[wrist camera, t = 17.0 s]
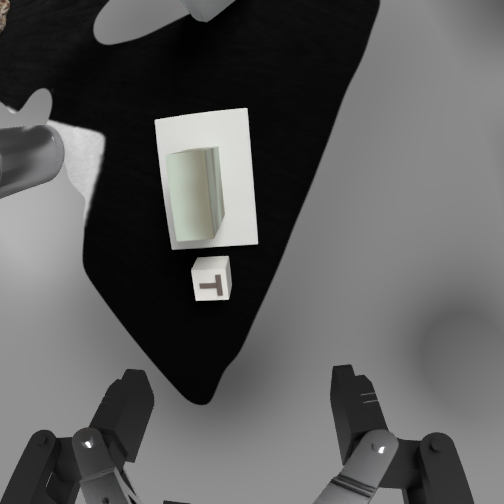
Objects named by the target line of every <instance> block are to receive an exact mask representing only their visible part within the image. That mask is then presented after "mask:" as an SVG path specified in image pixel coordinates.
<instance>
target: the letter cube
mask: <svg viewBox="0 0 504 504" xmlns="http://www.w3.org/2000/svg"><path fill="white" fill-rule="evenodd" d="M191 273H192V279H193V285H194V291H195V297H196V301H204V300H229V297H230V292H231V286H232V281H231V272H230V263H229V256H218V257H200V258H197V259H196V261H195V264H194V266H193V268H192V270H191Z"/></svg>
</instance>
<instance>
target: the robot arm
mask: <svg viewBox="0 0 504 504" xmlns="http://www.w3.org/2000/svg"><path fill="white" fill-rule="evenodd" d="M63 159H64V146H63V142H62V139H61V137H60V135H59V133H58V132H57V131H56V130H55V129H54V128H53V127H51V126H48V125H37V126H23V127H13V128H4V129H0V199H1V198H3V197H6V196H9V195H12V194H14V193H17V192H20V191H22V190H25V189H28V188H31V187H34V186H37V185H40V184H43V183H46V182H48V181H50V180H52V179H53V178H54V177H56V175H57V174H58V173H59V171H60V169H61V167H62V163H63ZM330 400H331V407H332V412H333V417H334V422H335V427H336V432H337V437H338V443H339V448H340V454H341V459H342V464H343V466H344V467H343V469H342V470H341V472H340V473H339V474H338V475H337V476H336V477H334V478H333V479H332V480H331V481H330V482H329V483H328V484H327V486H326V487H325V488H324V490H323V491H322V493H321V494H320V495H319V496H318V497H317V499H316V500H315V501H314V503H313V504H369V502H370V501H371V499H372V497H373V496H374V494H375V493H376V491H377V489H378V487H382V488H398V489H401V490H402V494H403V500H404V504H474V501H473V498H472V494H471V491H470V488H469V485H468V482H467V479H466V476H465V473H464V470H463V467H462V464H461V461H460V459H459V456H458V453H457V450H456V448H455V445H454V442H453V440H452V439H451V438H450V437H449V436H447V435H446V434H443V433H438V432H435V433H431V434H428V435H427V436H425V437H424V438H423V439H422V441H414V440H403V439H399V438H397V437H396V436H395V435H394V434H393V433H391V432H390V431H389V430H388V428H387V425H386V422H385V419H384V416H383V413H382V410H381V407H380V405H379V402H378V399H377V396H376V394H375V391H374V388H373V385H372V383H371V381H370V380H369V379H367V377H366V376H365V375H359V376H355V374H354V371H353V368H352V366H351V365H340V366H333V370H332V380H331V390H330ZM101 402H102V403H100V405H99V407H98V409H97V411H96V413H95V415H94V417H93V419H92V421H91V423H90V425H89V427H88V428H83V429H80V430H79V431H77V432H76V433H75V434H74V436H73V437H68V438H67V437H66V438H56V436H55V435H54V434H53V433H52V432H51V431H49V430H40V431H38V432H36V433H34V434H33V435H32V437H31V438H30V440H29V442H28V444H27V446H26V448H25V450H24V452H23V454H22V456H21V458H20V460H19V462H18V464H17V466H16V468H15V471H14V473H13V475H12V477H11V479H10V481H9V484H8V486H7V488H6V490H5V493H4V495H3V497H2V499H1V502H0V504H75V500H76V498H77V495H78V492H79V488H80V487H81V489H82V492H83V495H84V498H85V501H86V504H143V503H142V502H141V500H140V499H139V497H138V495H137V493H136V491H135V489H134V487H133V485H132V483H131V481H130V479H129V477H128V475H127V473H126V471H125V469H124V467H123V466H124V464H125V461H127V462H133V463H134V462H135V459H136V456H137V453H138V450H139V447H140V444H141V441H142V439H143V435H144V433H145V430H146V427H147V424H148V421H149V418H150V415H151V412H152V409H153V406H154V394H153V391H152V389H151V386H150V384H149V381H148V378H147V376H146V373H145V371H143V370H135V369H127V370H126V371H125V373H124V375H123V377H122V379H121V380H119V379H117V380H116V381H115V382H114V383H112V385H110V386H109V388H108V390H107V392H106V394H105V397H103V399H102V401H101ZM51 472H52V474H51ZM50 475H51V477H50ZM49 477H50V479H49ZM48 479H49V482H48ZM47 482H48V484H47ZM46 484H47V487H46ZM163 504H189V503H179V502H172V501H165V500H164V502H163Z"/></svg>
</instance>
